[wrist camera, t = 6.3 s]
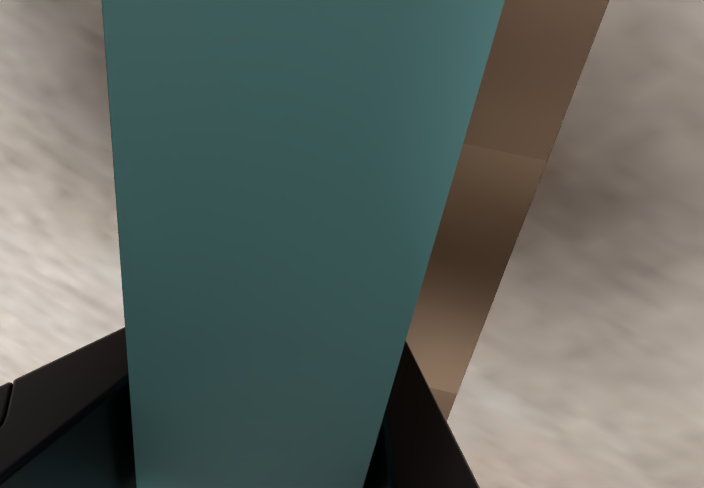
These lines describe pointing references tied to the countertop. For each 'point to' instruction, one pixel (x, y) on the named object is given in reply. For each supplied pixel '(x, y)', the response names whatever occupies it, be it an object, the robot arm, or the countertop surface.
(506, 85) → the brown slotted board
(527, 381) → the countertop surface
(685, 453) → the countertop surface
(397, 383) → the robot arm
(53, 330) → the countertop surface
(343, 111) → the teal drawer handle
